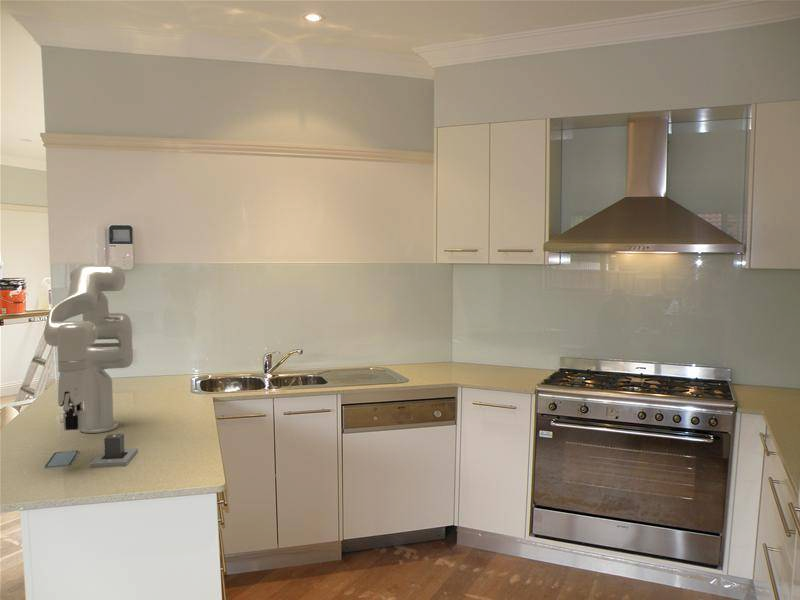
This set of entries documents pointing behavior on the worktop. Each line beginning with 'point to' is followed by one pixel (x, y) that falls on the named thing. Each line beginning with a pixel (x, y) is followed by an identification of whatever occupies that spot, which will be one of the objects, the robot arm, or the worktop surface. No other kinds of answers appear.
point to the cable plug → (81, 419)
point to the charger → (114, 446)
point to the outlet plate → (103, 462)
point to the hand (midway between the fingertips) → (74, 426)
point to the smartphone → (62, 459)
